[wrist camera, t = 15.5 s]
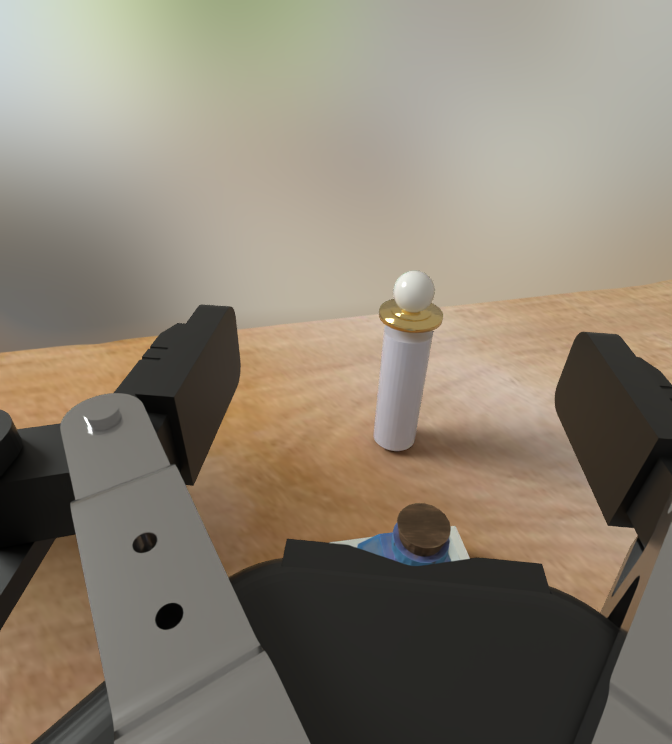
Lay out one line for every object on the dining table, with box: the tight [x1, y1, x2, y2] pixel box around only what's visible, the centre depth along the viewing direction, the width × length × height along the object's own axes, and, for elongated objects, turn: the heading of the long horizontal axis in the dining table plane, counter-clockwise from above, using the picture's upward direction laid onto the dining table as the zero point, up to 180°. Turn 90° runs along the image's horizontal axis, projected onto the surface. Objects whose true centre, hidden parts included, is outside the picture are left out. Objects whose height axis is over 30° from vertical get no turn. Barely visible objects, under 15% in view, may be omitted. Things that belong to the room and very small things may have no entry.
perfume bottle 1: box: [374, 270, 443, 451], centre depth 46 cm, size 6×6×20 cm
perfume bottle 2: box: [357, 503, 451, 566], centre depth 31 cm, size 6×6×12 cm
